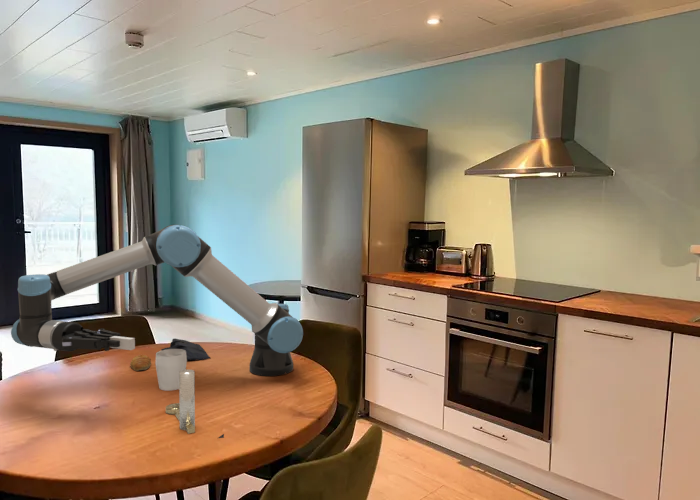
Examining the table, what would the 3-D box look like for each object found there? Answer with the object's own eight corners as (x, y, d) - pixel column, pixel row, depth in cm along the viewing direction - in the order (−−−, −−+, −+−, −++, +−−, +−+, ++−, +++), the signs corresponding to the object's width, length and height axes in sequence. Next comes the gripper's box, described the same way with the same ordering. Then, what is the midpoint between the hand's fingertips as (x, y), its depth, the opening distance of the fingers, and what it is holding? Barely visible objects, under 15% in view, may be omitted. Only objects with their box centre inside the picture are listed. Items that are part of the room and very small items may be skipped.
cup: (177, 397, 152) (176, 357, 151) (149, 395, 153) (149, 355, 152) (192, 387, 160) (192, 349, 159) (166, 385, 162) (165, 347, 161)
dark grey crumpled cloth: (170, 365, 184) (170, 352, 184) (160, 350, 203) (160, 339, 203) (213, 360, 192) (213, 347, 191) (199, 346, 211) (199, 335, 210)
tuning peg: (163, 409, 139) (163, 358, 138) (182, 406, 141) (182, 356, 140) (181, 435, 123) (180, 377, 122) (202, 430, 126) (201, 374, 125)
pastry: (152, 371, 177) (151, 360, 177) (130, 373, 174) (130, 362, 174) (150, 363, 186) (150, 353, 185) (130, 365, 183) (129, 355, 183)
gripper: (84, 343, 143) (151, 352, 135) (41, 356, 131) (112, 366, 123) (82, 317, 143) (150, 323, 134) (39, 327, 130) (111, 335, 122)
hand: (132, 344), depth 128 cm, fingers closed
